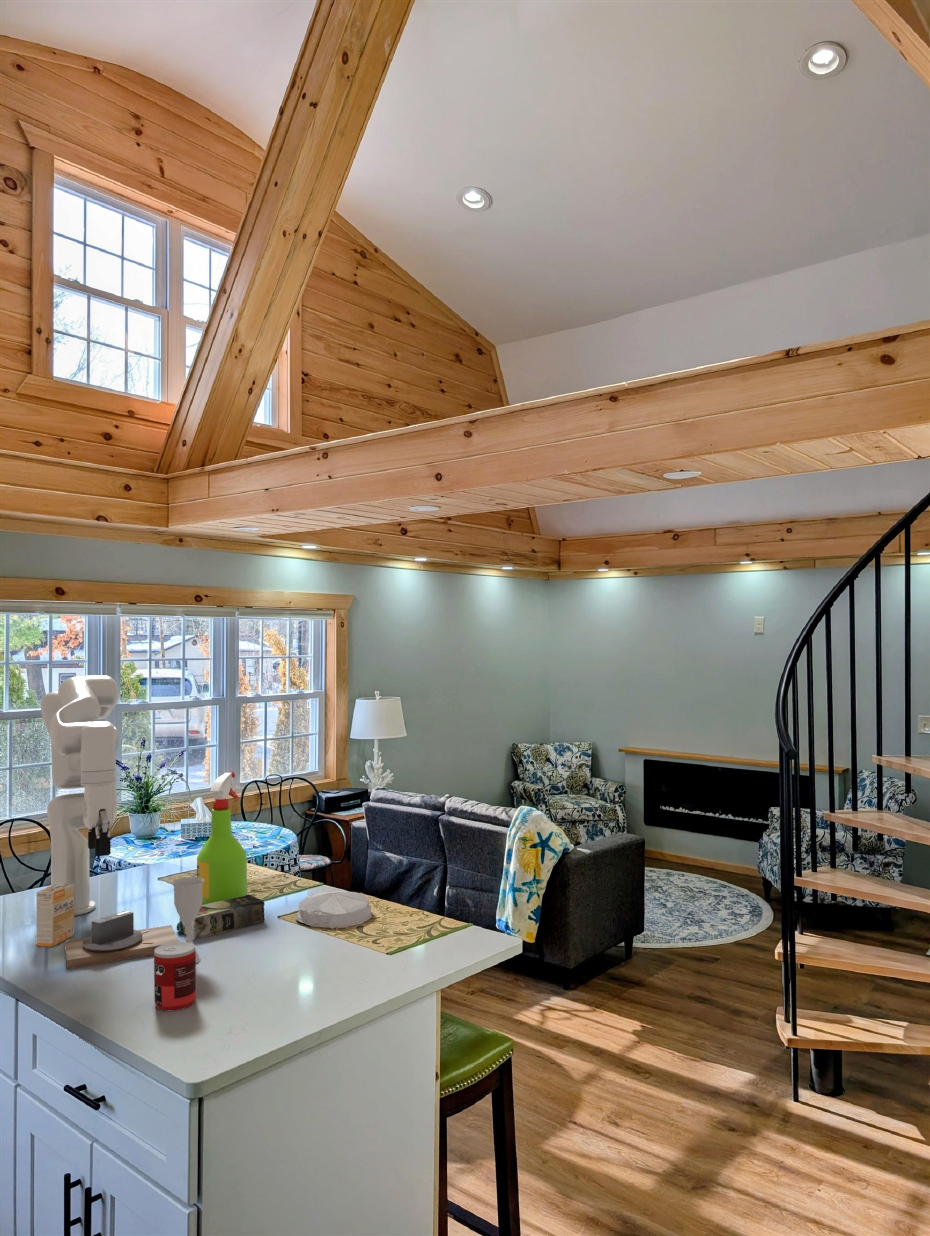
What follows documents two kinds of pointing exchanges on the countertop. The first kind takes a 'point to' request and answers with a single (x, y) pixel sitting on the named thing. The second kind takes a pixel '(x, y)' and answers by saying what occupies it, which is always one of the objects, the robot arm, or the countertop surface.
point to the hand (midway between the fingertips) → (99, 851)
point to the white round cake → (334, 909)
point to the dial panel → (146, 947)
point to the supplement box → (55, 914)
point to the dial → (113, 933)
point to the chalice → (188, 902)
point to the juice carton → (226, 916)
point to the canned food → (174, 975)
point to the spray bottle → (222, 850)
